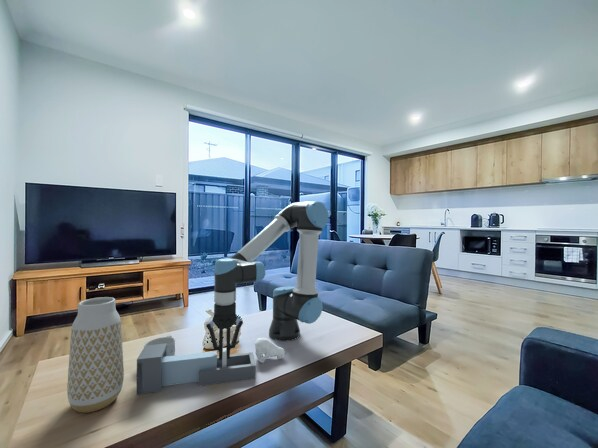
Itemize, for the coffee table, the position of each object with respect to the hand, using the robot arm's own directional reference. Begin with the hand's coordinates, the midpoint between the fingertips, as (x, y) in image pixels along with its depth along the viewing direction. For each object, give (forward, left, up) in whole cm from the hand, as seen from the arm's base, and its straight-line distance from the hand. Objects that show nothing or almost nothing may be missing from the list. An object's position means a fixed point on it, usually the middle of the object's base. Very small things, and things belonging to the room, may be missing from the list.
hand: (224, 367), depth 99 cm
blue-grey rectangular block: (+13, 0, -3) cm, 13 cm away
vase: (+37, +6, -3) cm, 38 cm away
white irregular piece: (-18, -7, -3) cm, 19 cm away
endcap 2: (-2, 0, -3) cm, 3 cm away
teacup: (+23, -16, -3) cm, 28 cm away
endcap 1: (+23, 0, -3) cm, 23 cm away
